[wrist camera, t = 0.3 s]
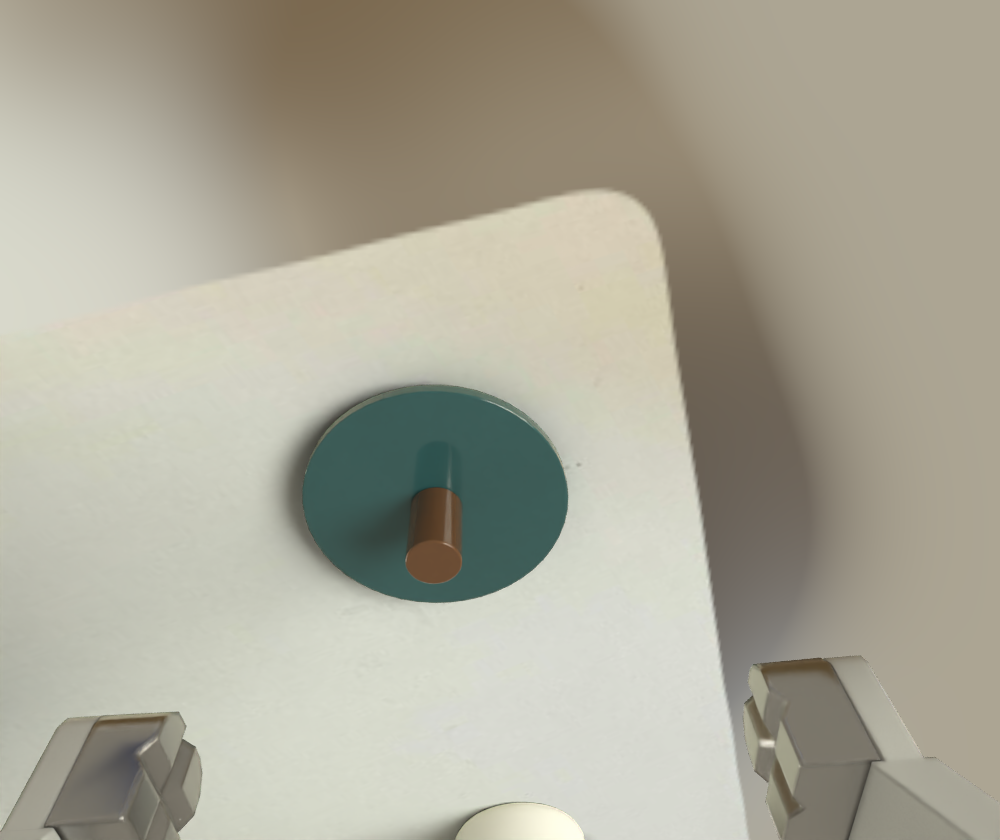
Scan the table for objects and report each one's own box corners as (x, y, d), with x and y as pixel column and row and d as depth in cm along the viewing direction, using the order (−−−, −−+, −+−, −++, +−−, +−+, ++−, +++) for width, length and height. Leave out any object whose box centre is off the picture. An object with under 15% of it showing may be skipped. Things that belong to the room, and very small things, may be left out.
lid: (281, 387, 30) (253, 453, 26) (562, 366, 30) (577, 429, 26) (332, 593, 36) (315, 673, 32) (567, 575, 36) (580, 653, 32)
